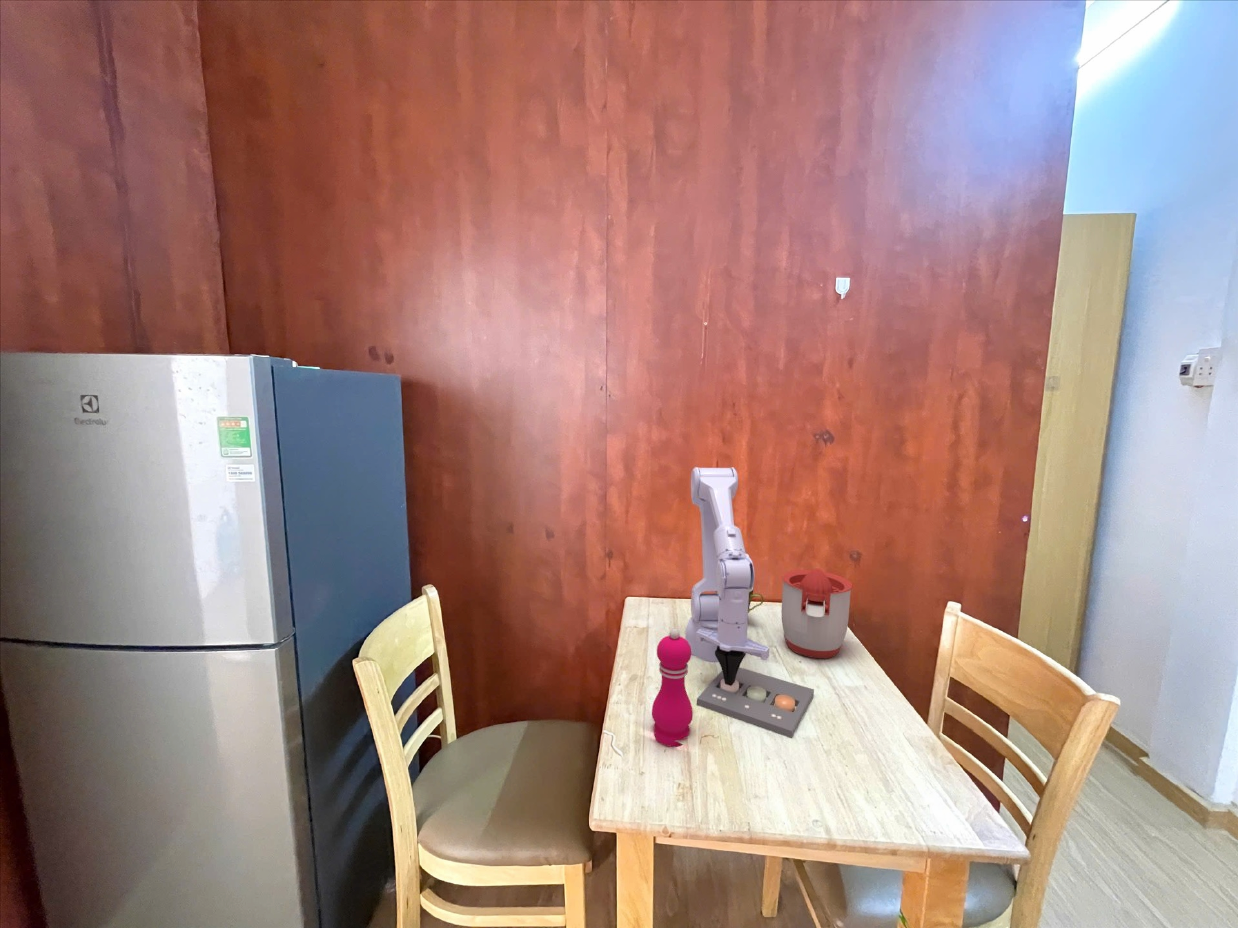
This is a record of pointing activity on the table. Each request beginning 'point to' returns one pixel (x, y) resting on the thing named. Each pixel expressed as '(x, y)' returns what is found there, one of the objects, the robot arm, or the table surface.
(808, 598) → the citrus juicer
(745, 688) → the button panel
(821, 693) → the table surface
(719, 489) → the robot arm
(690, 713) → the pepper mill
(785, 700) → the button terracotta
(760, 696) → the button green
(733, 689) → the button white
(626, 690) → the table surface
